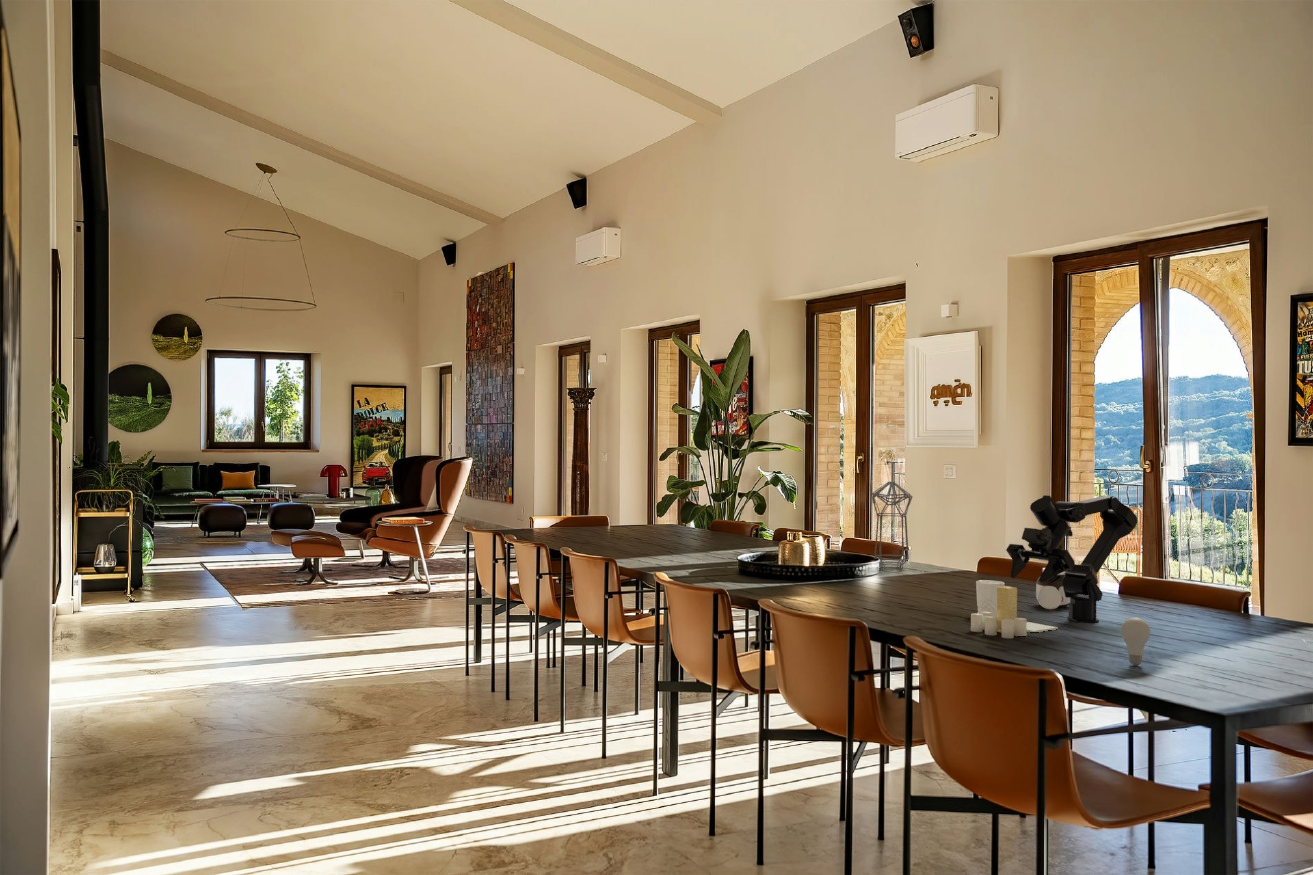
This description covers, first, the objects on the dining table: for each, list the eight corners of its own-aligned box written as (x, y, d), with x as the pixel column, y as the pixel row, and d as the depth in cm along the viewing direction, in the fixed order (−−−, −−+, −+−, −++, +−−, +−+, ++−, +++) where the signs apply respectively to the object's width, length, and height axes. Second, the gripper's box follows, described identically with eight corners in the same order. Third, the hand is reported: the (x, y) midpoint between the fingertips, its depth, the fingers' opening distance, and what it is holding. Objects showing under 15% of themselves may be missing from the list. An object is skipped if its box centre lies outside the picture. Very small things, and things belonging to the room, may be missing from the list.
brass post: (1005, 630, 273) (1005, 585, 273) (1016, 632, 270) (1017, 587, 270) (996, 631, 271) (997, 586, 271) (1008, 633, 268) (1008, 588, 268)
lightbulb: (1115, 662, 233) (1115, 615, 233) (1140, 662, 233) (1140, 615, 233) (1130, 668, 227) (1130, 620, 227) (1155, 668, 227) (1156, 619, 227)
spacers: (985, 627, 276) (985, 611, 276) (1028, 636, 264) (1028, 619, 264) (965, 630, 272) (965, 613, 272) (1008, 639, 260) (1008, 621, 260)
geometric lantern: (910, 567, 407) (910, 480, 407) (912, 572, 391) (912, 482, 391) (870, 566, 410) (870, 480, 410) (871, 571, 394) (871, 481, 394)
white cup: (1006, 619, 290) (1006, 584, 290) (977, 617, 291) (977, 583, 291) (1002, 614, 298) (1002, 580, 298) (974, 613, 299) (974, 579, 299)
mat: (1026, 623, 282) (1026, 621, 282) (1057, 629, 274) (1057, 627, 274) (1003, 627, 277) (1003, 624, 277) (1033, 633, 269) (1033, 630, 269)
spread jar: (1064, 604, 317) (1064, 567, 317) (1080, 610, 306) (1081, 572, 306) (1026, 604, 316) (1027, 567, 317) (1041, 610, 305) (1041, 571, 305)
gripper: (1010, 515, 285) (984, 556, 279) (1068, 519, 270) (1041, 563, 264) (1028, 541, 289) (1002, 582, 284) (1086, 547, 274) (1060, 591, 268)
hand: (1025, 579), depth 275 cm, fingers open, 9 cm apart
